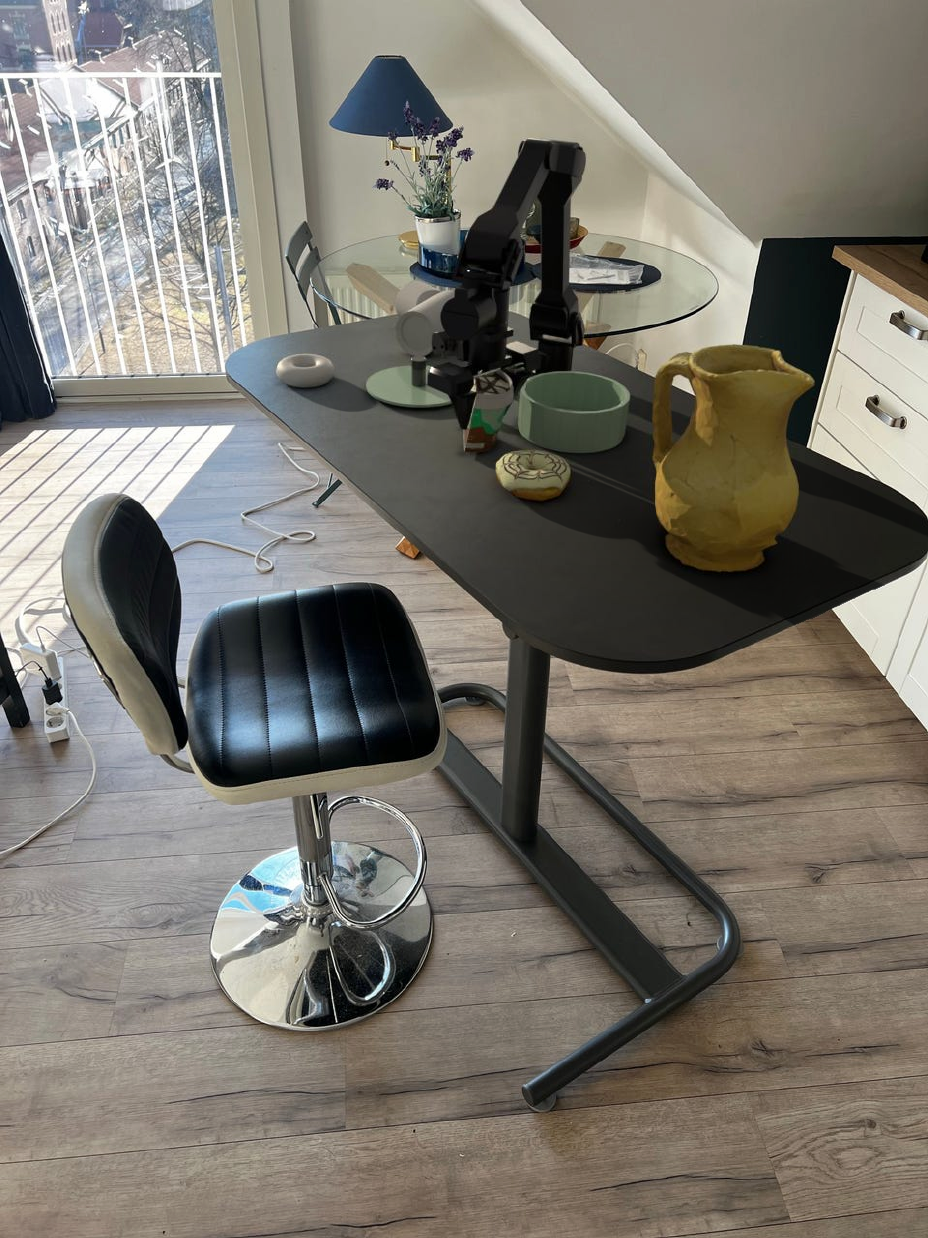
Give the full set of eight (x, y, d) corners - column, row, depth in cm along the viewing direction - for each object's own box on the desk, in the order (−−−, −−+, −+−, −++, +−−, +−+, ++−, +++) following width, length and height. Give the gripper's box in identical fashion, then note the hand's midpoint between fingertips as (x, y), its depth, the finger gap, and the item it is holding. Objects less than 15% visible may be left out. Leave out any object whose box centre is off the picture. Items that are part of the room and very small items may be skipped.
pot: (565, 400, 157) (569, 363, 153) (645, 432, 147) (652, 394, 143) (496, 426, 147) (498, 388, 143) (577, 463, 137) (581, 422, 133)
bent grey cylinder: (497, 339, 177) (438, 311, 189) (490, 286, 169) (430, 261, 182) (422, 376, 170) (367, 344, 183) (412, 323, 163) (355, 293, 176)
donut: (328, 393, 156) (340, 370, 164) (326, 373, 154) (339, 352, 162) (270, 389, 157) (285, 367, 165) (268, 369, 155) (283, 348, 163)
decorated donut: (499, 504, 126) (500, 479, 124) (492, 468, 135) (493, 445, 133) (574, 503, 127) (576, 479, 125) (562, 468, 135) (564, 444, 133)
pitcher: (699, 594, 109) (741, 388, 95) (616, 527, 123) (642, 339, 110) (811, 570, 115) (865, 373, 101) (720, 509, 129) (757, 329, 116)
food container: (504, 462, 138) (519, 402, 131) (464, 456, 137) (477, 395, 131) (499, 424, 147) (513, 366, 141) (462, 418, 146) (474, 359, 140)
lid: (422, 363, 169) (423, 333, 165) (492, 392, 158) (493, 361, 155) (345, 387, 158) (343, 355, 155) (413, 420, 148) (413, 387, 145)
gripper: (494, 294, 141) (489, 391, 150) (402, 318, 131) (402, 420, 140) (547, 313, 135) (538, 412, 144) (455, 339, 124) (452, 445, 133)
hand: (483, 421), depth 140 cm, fingers closed on food container, 8 cm apart
